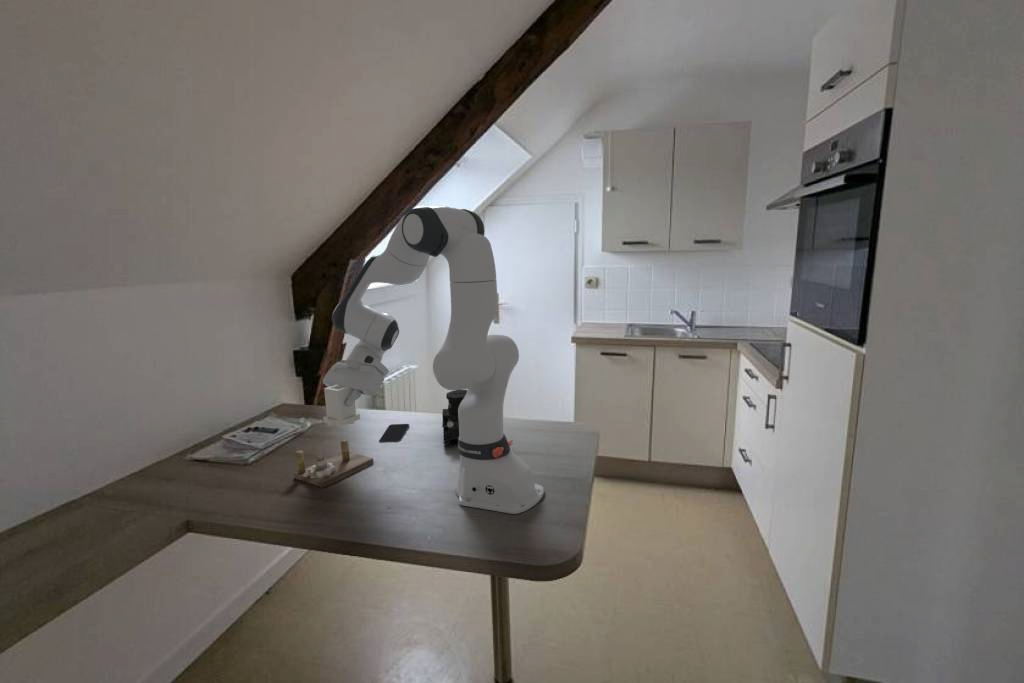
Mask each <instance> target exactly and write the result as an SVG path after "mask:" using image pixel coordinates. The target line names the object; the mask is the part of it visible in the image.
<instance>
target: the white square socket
mask: <svg viewBox="0 0 1024 683" xmlns="http://www.w3.org/2000/svg"><path fill="white" fill-rule="evenodd" d="M353 390H354V389H351V388H350V387H348V386H347V387H341V386H340V385H334V386H330V387H327V386H326V387H324V388H323V391H324V399H325V402H324V403H325V410H326V416H323V417H322V418H323V423H324V424H327V427H333V426H336V427H339V428H340V427H343V426H346V425H353V424H355V422H356V421H359V420H361V415H360V413H357V408H356V401H354V402H353V404H352V406H346V405H345V404H344V401H345V399H346V398H349V397H350V396H351V395H352V394H353V393H352V392H353Z"/></svg>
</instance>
